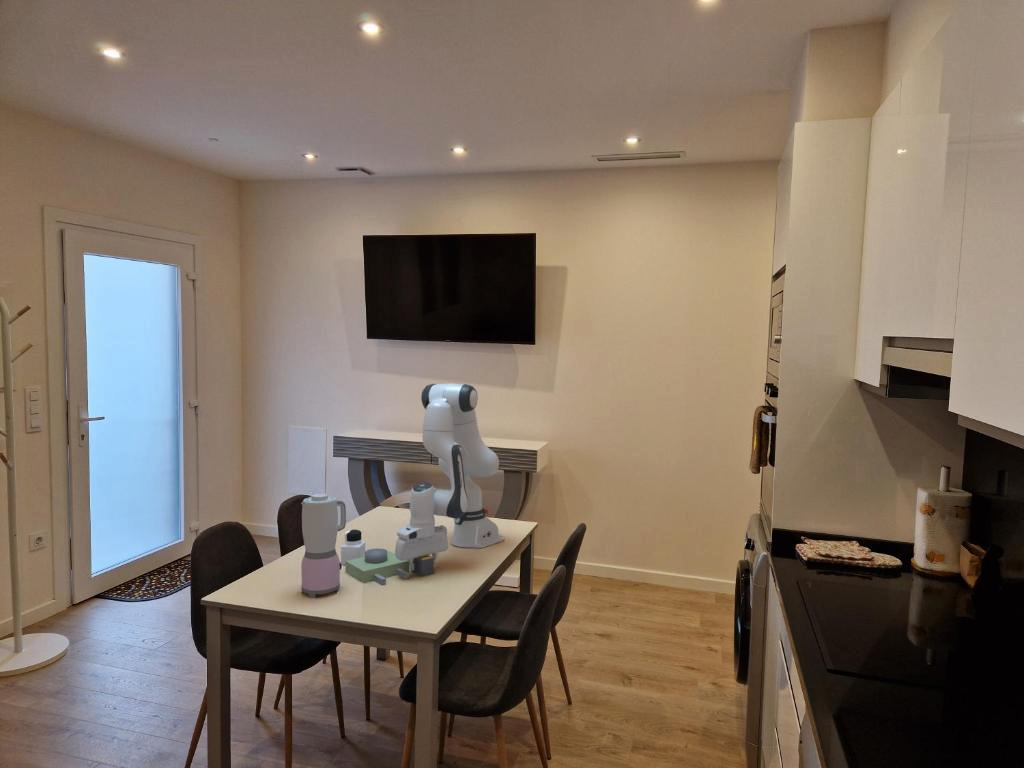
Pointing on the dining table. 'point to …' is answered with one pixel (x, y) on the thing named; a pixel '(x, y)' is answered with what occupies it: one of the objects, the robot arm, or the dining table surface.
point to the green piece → (377, 566)
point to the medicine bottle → (352, 546)
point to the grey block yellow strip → (424, 565)
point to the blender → (321, 544)
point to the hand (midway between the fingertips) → (422, 567)
